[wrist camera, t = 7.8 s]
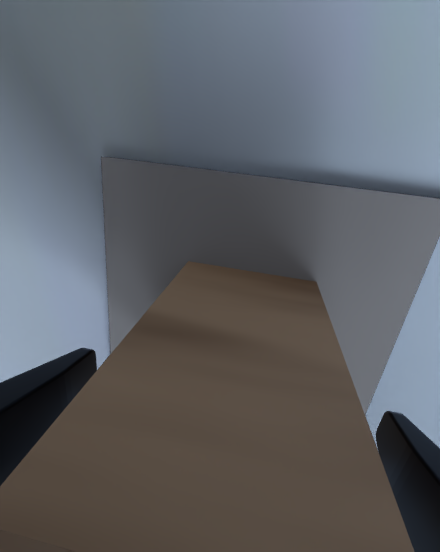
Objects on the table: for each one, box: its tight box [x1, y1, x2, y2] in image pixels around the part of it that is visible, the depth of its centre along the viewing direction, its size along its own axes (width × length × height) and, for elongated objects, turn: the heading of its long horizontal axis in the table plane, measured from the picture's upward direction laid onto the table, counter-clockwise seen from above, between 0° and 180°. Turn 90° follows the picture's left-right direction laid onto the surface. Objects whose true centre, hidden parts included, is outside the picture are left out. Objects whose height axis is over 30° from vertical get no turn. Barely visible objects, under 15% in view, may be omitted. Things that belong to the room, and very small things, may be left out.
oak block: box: [0, 261, 414, 552], centre depth 8 cm, size 5×5×9 cm
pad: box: [101, 157, 440, 414], centre depth 12 cm, size 12×12×1 cm
